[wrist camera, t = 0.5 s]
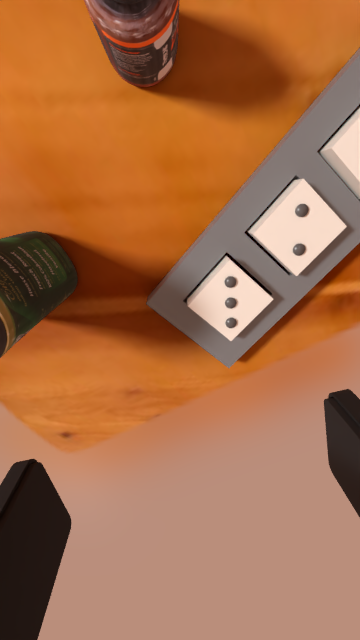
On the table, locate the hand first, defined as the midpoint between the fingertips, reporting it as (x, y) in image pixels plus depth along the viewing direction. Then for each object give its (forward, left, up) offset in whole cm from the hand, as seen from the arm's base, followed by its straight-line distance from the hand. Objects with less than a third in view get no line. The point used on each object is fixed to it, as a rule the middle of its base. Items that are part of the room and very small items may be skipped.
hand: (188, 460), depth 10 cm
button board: (-11, +5, -25) cm, 28 cm away
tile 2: (-11, +5, -23) cm, 26 cm away
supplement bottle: (-13, -15, -25) cm, 32 cm away
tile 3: (-2, +5, -23) cm, 24 cm away
